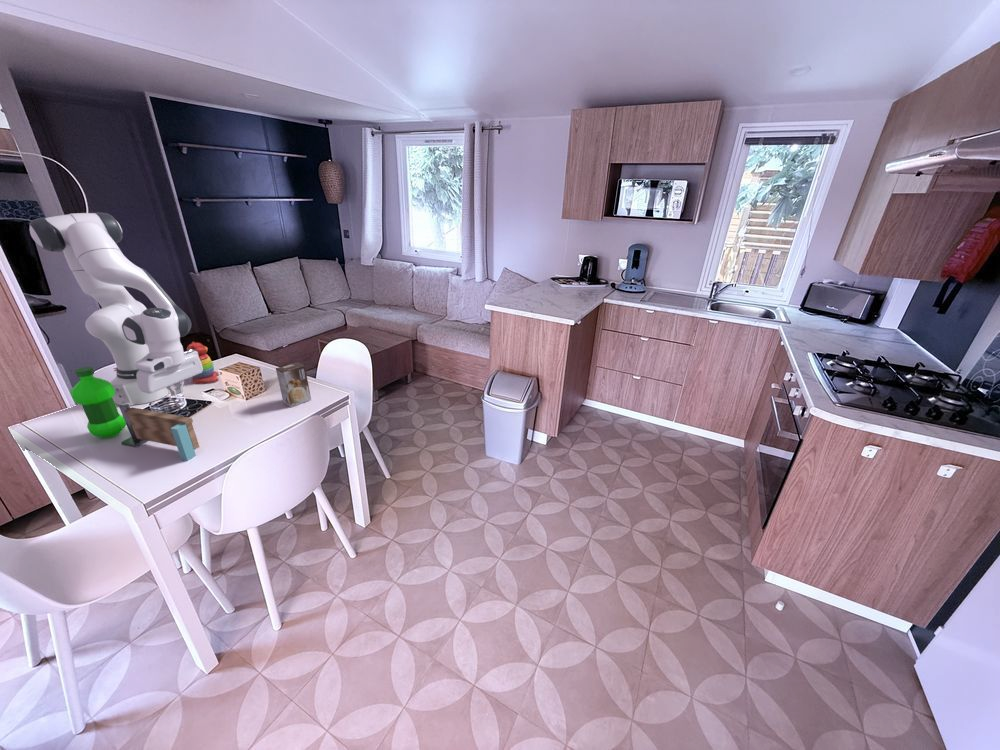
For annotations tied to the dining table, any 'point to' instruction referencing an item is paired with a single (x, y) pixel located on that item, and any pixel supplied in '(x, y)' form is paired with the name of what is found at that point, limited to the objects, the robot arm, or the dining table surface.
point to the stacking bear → (204, 365)
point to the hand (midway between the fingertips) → (177, 393)
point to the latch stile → (183, 441)
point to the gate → (158, 426)
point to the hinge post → (130, 430)
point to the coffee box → (293, 384)
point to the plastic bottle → (97, 404)
